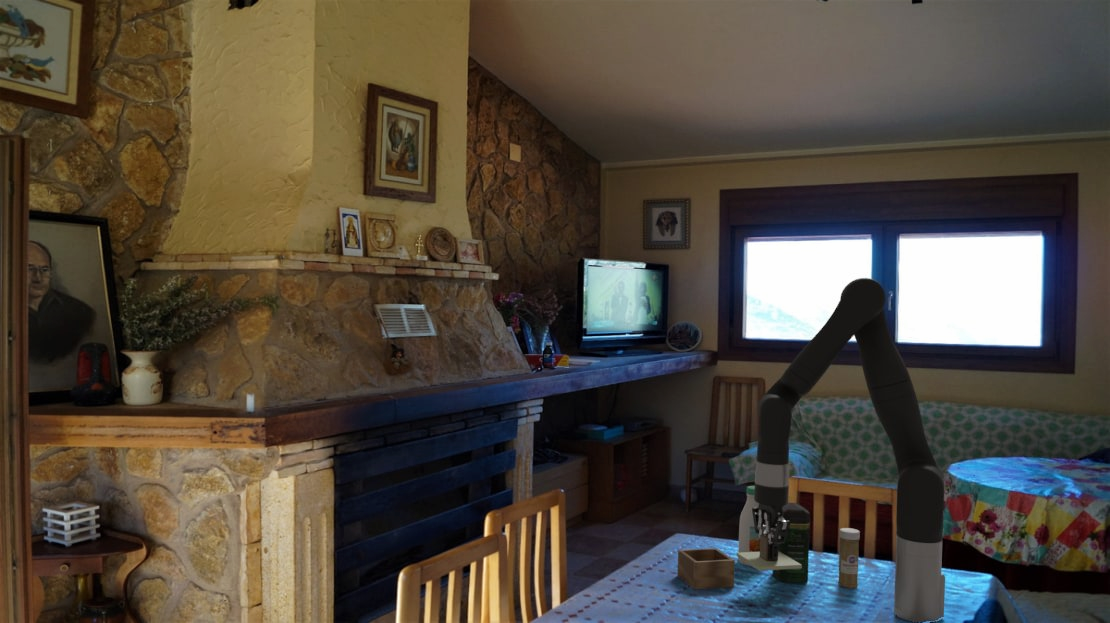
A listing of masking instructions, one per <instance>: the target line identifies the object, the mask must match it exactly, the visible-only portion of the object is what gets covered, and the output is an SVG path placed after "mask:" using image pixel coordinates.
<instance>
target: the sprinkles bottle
mask: <svg viewBox="0 0 1110 623" xmlns="http://www.w3.org/2000/svg"><path fill="white" fill-rule="evenodd" d="M860 533H861V531H860V530H858V529H855V528H851V527H841V528H840V529H839V549H838V585H839V586H840V587H841V588H842V587H843V588H848V589H854V588H858V586H859V584H858V577H859V575H858V574H859V554H860V553H859V552H860V551H859V542H860V538H861V536H860Z"/></svg>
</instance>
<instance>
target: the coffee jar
mask: <svg viewBox="0 0 1110 623" xmlns="http://www.w3.org/2000/svg"><path fill="white" fill-rule="evenodd" d="M783 518H784V519H785V521H788V520H789V521H790V526H789V530H788V533H787V536H786V540H785V543H780V544H779V546H778V551H779V552H781V553H783V554H784V555H786V556H788V557H789V558H791V559H793V560H795V561H796V562H798V563H800V564H801V565H802V568H799V569H780V570H772V575H773V577H774V579H775V580H776V581H778V582H779V583H785V584H794V585H796V584H797V585H804V584H808V581H809V554H810V552H809V550H810V532H811V530H810V527H811V513H810V512H809V510H808V509H807V508H805V507H804V506H801V504H799V503H798V502H789V501H788V503H787V504H786V505H784V506H783ZM774 529H776V528H774ZM780 537H781V536H780Z"/></svg>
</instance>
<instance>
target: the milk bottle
mask: <svg viewBox="0 0 1110 623" xmlns="http://www.w3.org/2000/svg"><path fill="white" fill-rule="evenodd" d="M754 490H755V485H749V486H746V502H745V504H744V507H743V509H742V511H741V513H740V516H739V526H738V528H739V529H738V551H737V553H741V552H760V538H759V534H756V532H755V527H754V520H753V514H752V508H756V507H758V505H759V503H757V502H755V500H754ZM737 558H738V559H737V560H738V563H740V564H742V565H745V566H750V567H752V566H751V565H749V564H748V563H746V562H745V561H743V560H742V559H740V558H739V557H737Z"/></svg>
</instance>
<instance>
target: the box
mask: <svg viewBox="0 0 1110 623" xmlns="http://www.w3.org/2000/svg"><path fill="white" fill-rule="evenodd" d="M735 561H736V560H735V559H734V558H732V557H731V556H729V555H728V554H726V553H724V552H723V551H722V550H720V549H718V548H717V547H714V548H713V547H712V548H708V547H707V548H695V549H694V548H692V549H691V548H690V549H678V550H677V577H678V578H680V580H682V581H684V583H686V584H687V585H688V586H689V587H690V588H692V589H693V590H707V589H721V588H723V589H724V588H735V572H736V571H735V569H736V568H735V566H736V565H735V564H736V562H735Z"/></svg>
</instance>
